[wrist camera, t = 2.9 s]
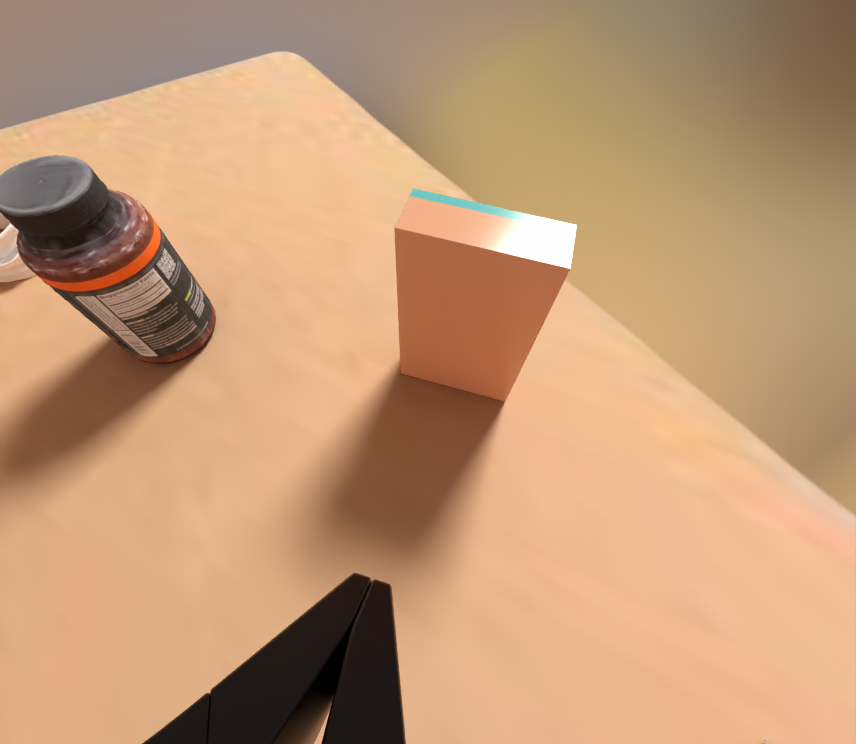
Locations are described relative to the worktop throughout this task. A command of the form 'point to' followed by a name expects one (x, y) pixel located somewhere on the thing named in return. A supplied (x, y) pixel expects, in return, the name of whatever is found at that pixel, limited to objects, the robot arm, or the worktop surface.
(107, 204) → the supplement bottle
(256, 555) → the worktop surface
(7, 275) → the whipped cream
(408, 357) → the tile
